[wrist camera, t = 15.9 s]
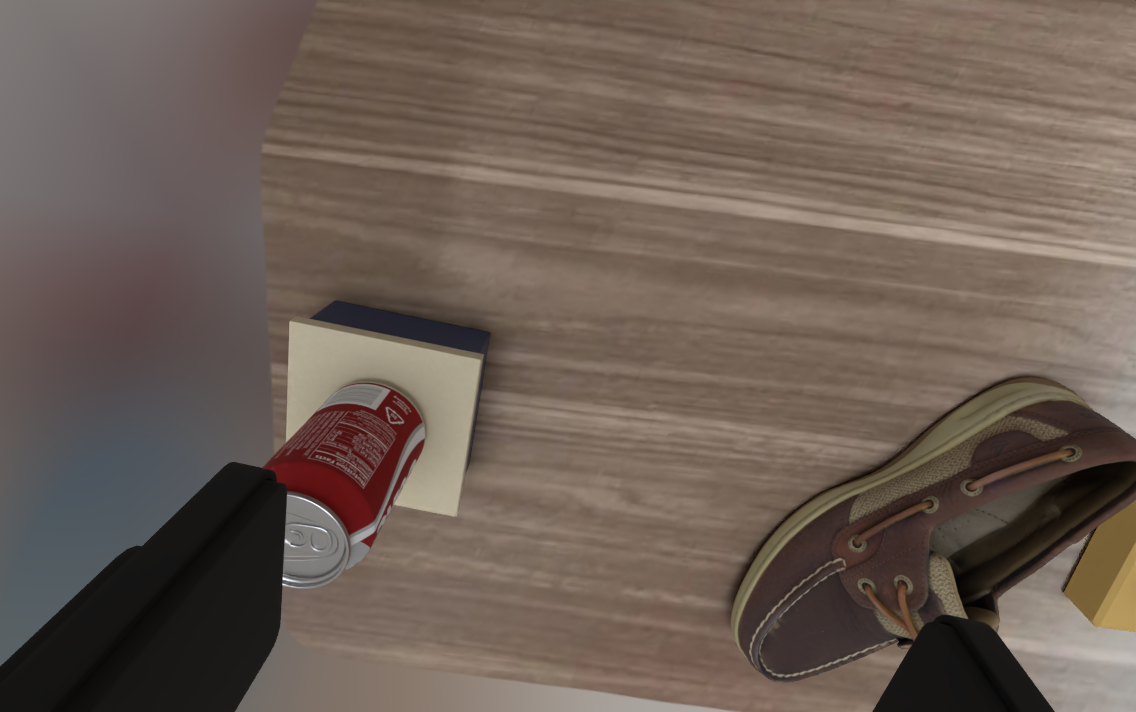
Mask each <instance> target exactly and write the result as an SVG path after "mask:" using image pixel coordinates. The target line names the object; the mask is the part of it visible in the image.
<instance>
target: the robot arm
mask: <svg viewBox="0 0 1136 712" xmlns="http://www.w3.org/2000/svg"><path fill="white" fill-rule="evenodd" d="M286 508H287V487H286V485H285V484H283V483H279V482H277V476H276V473H275V472H274V471H273V470H269V469H265V468H260V467H255V466H250V465H246V464H241V463H237V462H231V463H229V464H227V465H226V466H224V467H223V468H222V469H221V470H220V471H219V472H218V473H217V474H216V475H215V476H214V477H213V478H212V479H211V480H210V481H209V482H208V483H207V484H206V485H205V486H204V487H203V488H202V489H201V490H200V491H199V492H198V493H197V494H195V495H194V496H193V497H192V498H191V499H190V500H189V501H188V502H187V503H186V504H185V505H184V506H183V507H182V508H181V509H180V510H179V511H178V512H177V513H176V514H175V515H174V516H173V517H172V518H171V519H170V520H169V521H168V522H167V523H166V524H165V525H163V526H162V528H160V529H159V530H158V531H157V532H156V533H155V534H154V535H153V536H152V537H151V538H150V539H149V540H148V541H147V542H146V543H145V544H144V545H143V546H134V547H132V548H129V549H127V550H126V551H124V552H123V553H121V554H120V555H119V556H118V557H117V558H115V559H114V560H113V561H112V562H111V563H110V564H109V565H108V566H107V567H106V568H104V569H103V570H102V571H101V572H100V573H99V574H98V575H97V576H96V577H95V578H94V579H93V580H92V581H91V582H90V583H89V584H87V585H86V586H85V587H84V589H82V590H81V591H80V592H79V593H78V594H77V595H76V596H75V597H74V598H73V599H72V600H70V601H69V602H68V603H67V604H66V605H65V606H64V607H63V608H62V609H61V610H60V611H59V612H58V613H57V614H56V615H55V616H54V617H52V618H51V619H50V620H49V621H48V622H47V623H46V624H45V625H44V626H43V627H42V628H41V629H40V630H39V631H38V632H36V634H34V635H33V636H32V637H31V638H30V639H29V640H28V641H27V642H26V643H25V644H24V645H23V646H22V647H21V648H19V649H18V650H17V651H16V652H15V653H14V654H13V655H12V656H11V657H10V658H9V659H8V660H7V661H6V662H5V663H4V664H2V665H1V666H0V712H235V710H236V709H237V707H238V705H239V704H240V702H241V700H242V699H243V697H244V695H245V694H246V692H247V690H248V689H249V687H250V685H251V684H252V682H253V680H254V679H255V677H256V675H257V674H258V672H259V670H260V669H261V667H262V665H263V663H264V662H265V661H266V659H267V657H268V656H269V654H270V652H271V650H272V648H273V646H274V644H275V642H276V639H277V636H278V632H279V628H280V620H281V602H282V583H283V564H284V545H285V526H286ZM873 712H1055V711H1054V710H1053V709H1052V707H1051V706H1050V705H1049V703H1048V702H1047V701H1046V699H1045V698H1044V696H1043V695H1042V694H1041V692H1040V691H1039V690H1038V688H1037V687H1036V686H1035V684H1034V683H1033V682H1032V680H1031V679H1030V677H1029V676H1028V675H1027V673H1026V672H1025V671H1024V669H1023V668H1022V667H1021V665H1020V664H1019V663H1018V661H1017V660H1016V658H1015V657H1014V656H1013V654H1012V653H1011V652H1010V650H1009V649H1008V648H1007V646H1006V645H1005V644H1004V642H1003V641H1002V639H1001V638H1000V637H999V635H998V634H997V633H996V631H995V630H994V629H993V628H992V627H991V626H990V625H988V624H986V623H984V622H980V621H975V620H971V619H966V618H961V617H957V616H952V615H940V616H938V617H936V618H935V620H934V621H933V622H928V623H926V624H925V625H924V626H923V627H922V628H921V630H920V632H919V633H918V635H917V637H916V639H915V640H914V642H913V644H912V645H911V647H910V649H909V651H908V652H907V654H906V656H905V657H904V659H903V661H902V662H901V664H900V666H899V668H898V669H897V671H896V673H895V674H894V676H893V678H892V679H891V681H890V683H889V685H888V686H887V688H886V690H885V691H884V693H883V695H882V696H881V698H880V700H879V702H878V703H877V705H876V707H875V708H874V710H873Z"/></svg>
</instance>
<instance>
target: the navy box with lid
mask: <svg viewBox="0 0 1136 712" xmlns="http://www.w3.org/2000/svg"><path fill="white" fill-rule="evenodd" d="M489 338H490V333H489V332H485V331H480V330H475V329H470V328H466V327H461V326H456V325H451V324H446V323H441V322H436V321H431V320H427V319H422V318H417V317H412V316H407V315H402V314H397V313H392V312H388V311H383V310H378V309H373V308H368V307H363V306H358V305H353V304H349V303H344V302H339V301H334V302H332V303H331V304H330V305H328V306H327V307H325V308H324V309H323V310H321V311H320V312H318V313H317V314H316V315H314V316H313V317H311V318H310V319H308V318H303V317H299V316H296V317H295V318H293V319H292V320H290V323H289V358H288V392H287V426H286V442H287V441H288V440H289V439H290V438H291V437H292V436H293V435H294V434H295V433H296V432H297V431H298V430H299V429H300V428H301V427H302V426H303V425H304V424H305V423H306V421H307V420H308V419H309V418H310V417H311V416H312V415H313V414H314V413H315V412H316V411H317V410H318V409H319V408H320V407H321V406H322V405H323V404H324V403H325V401H326V400H327V399H328V398H329V397H330V396H331V395H332V394H333V393H334V392H336V391H337V390H338V389H340V388H342V387H344V386H346V385H348V384H351V383H355V382H364V381H369V382H377V383H382V384H385V385H388V386H390V387H392V388H394V389H396V390H398V391H400V392H401V393H403V394H404V395H405V396H406V397H407V398H409V399H410V400H411V401H412V402H413V404H414V405H415V406H416V408H417V409H418V411H419V412H420V414H421V416H422V419H423V422H424V425H425V433H426V437H425V444H424V448H423V450H422V453H421V454H420V456H419V458H418V460H417V462H416V464H415V466H414V468H413V469H412V471H411V473H410V475H409V477H408V479H407V481H406V483H405V484H404V486H403V488H402V490H401V492H400V494H399V496H398V498H397V499H396V501H395V503H394V505H398V506H403V507H409V508H414V509H419V510H424V511H429V512H434V513H439V514H444V515H449V516H454V517H457V514H458V512H459V509H460V503H461V497H462V490H463V484H464V478H465V474H466V472H467V469H468V467H469V463H470V457H471V450H472V444H473V438H474V432H475V425H476V419H477V413H478V406H479V400H480V394H481V388H482V381H483V375H484V369H485V363H486V356H487V350H488V344H489Z"/></svg>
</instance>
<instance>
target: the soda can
mask: <svg viewBox="0 0 1136 712" xmlns="http://www.w3.org/2000/svg"><path fill="white" fill-rule="evenodd" d="M425 437H426V433H425V425H424V422H423V419H422V416H421V414H420V412H419V411H418V409H417V408H416V406H415V405H414V404H413V402H412V401H411V400H410V399H409V398H407V397H406V396H405V395H404V394H403V393H401V392H400V391H398V390H396V389H394V388H392V387H390V386H388V385H385V384H382V383H377V382H369V381H364V382H355V383H351V384H348V385H346V386H344V387H342V388H340V389H338V390H337V391H336V392H334V393H333V394H332V395H331V396H330V397H329V398H328V399H327V400H326V401H325V403H324V404H323V405H322V406H321V407H320V408H319V409H318V410H317V411H316V412H315V413H314V414H313V415H312V416H311V417H310V418H309V419H308V420H307V421H306V423H305V424H304V425H303V426H302V427H301V428H300V429H299V430H298V431H297V432H296V433H295V434H294V435H293V436H292V437H291V438H290V439H289V440H288V441H287V442H286V444H285V445H284V446H283V447H282V448H281V449H280V450H279V451H278V452H277V453H276V454H275V455H274V456H273V457H272V458H271V459H270V460H269V461H268V462H267V464H266V465H265V466H264V467H263V468H265V469H269V470H273V471H274V472H275V473H276V476H277V482H279V483H283V484H285V485H286V487H287V508H286V526H285V545H284V564H283V583H282V586H285V587H289V588H295V589H311V588H317V587H321V586H324V585H326V584H328V583H330V582H332V581H333V580H335V579H336V578H337V577H338V576H339V575H340V574H341V573H342V572H343V571H344V570H347V569H349V568H351V567H352V566H354V565H355V564H357V563H358V562H359V561H361V560H362V559H363V558H364V557H365V555H366V554H367V553H368V551H369V550H370V548H371V546H372V544H373V543H374V541H375V539H376V537H377V535H378V533H379V531H380V529H381V528H382V526H383V524H384V522H385V520H386V518H387V516H388V514H389V513H390V511H391V509H392V507H393V505H394V503H395V501H396V499H397V498H398V496H399V494H400V492H401V490H402V488H403V486H404V484H405V483H406V481H407V479H408V477H409V475H410V473H411V471H412V469H413V468H414V466H415V464H416V462H417V460H418V458H419V456H420V454H421V453H422V450H423V448H424V444H425Z"/></svg>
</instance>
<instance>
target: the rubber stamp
mask: <svg viewBox="0 0 1136 712" xmlns="http://www.w3.org/2000/svg"><path fill="white" fill-rule="evenodd" d="M1064 594H1065V595H1066V596H1067V597H1068V598H1069V599H1070V600H1071V601H1072V602H1073V604H1074V605H1075V606H1076V607H1077V608H1078V609H1079V610H1080V611H1081V612H1082V613H1083V614H1084V615H1085V616H1086V617H1087V618H1088V619H1089V621H1090V622H1091V623H1092V624H1093V625H1094V626H1095V627H1101V628H1109V629H1117V630H1125V631H1133V632H1136V501H1134V502H1133V503H1131V504H1130V505H1129V506H1128V507H1126V508H1124V509H1123V510H1121V511H1120V512H1118V513H1117V514H1116V515H1114V516H1113V517H1111V518H1110V519H1108V520H1107V521H1105V522H1103V523H1102V524H1100V525H1099V526H1098V527H1097V529H1096V531H1095V533H1094V535H1093V537H1092V538H1091V540H1090V542H1089V544H1088V546H1087V548H1086V550H1085V552H1084V554H1083V556H1082V558H1081V560H1080V562H1079V564H1078V566H1077V568H1076V570H1075V572H1074V574H1073V576H1072V577H1071V579H1070V581H1069V583H1068V585H1067V587H1066V589H1065V591H1064Z"/></svg>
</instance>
